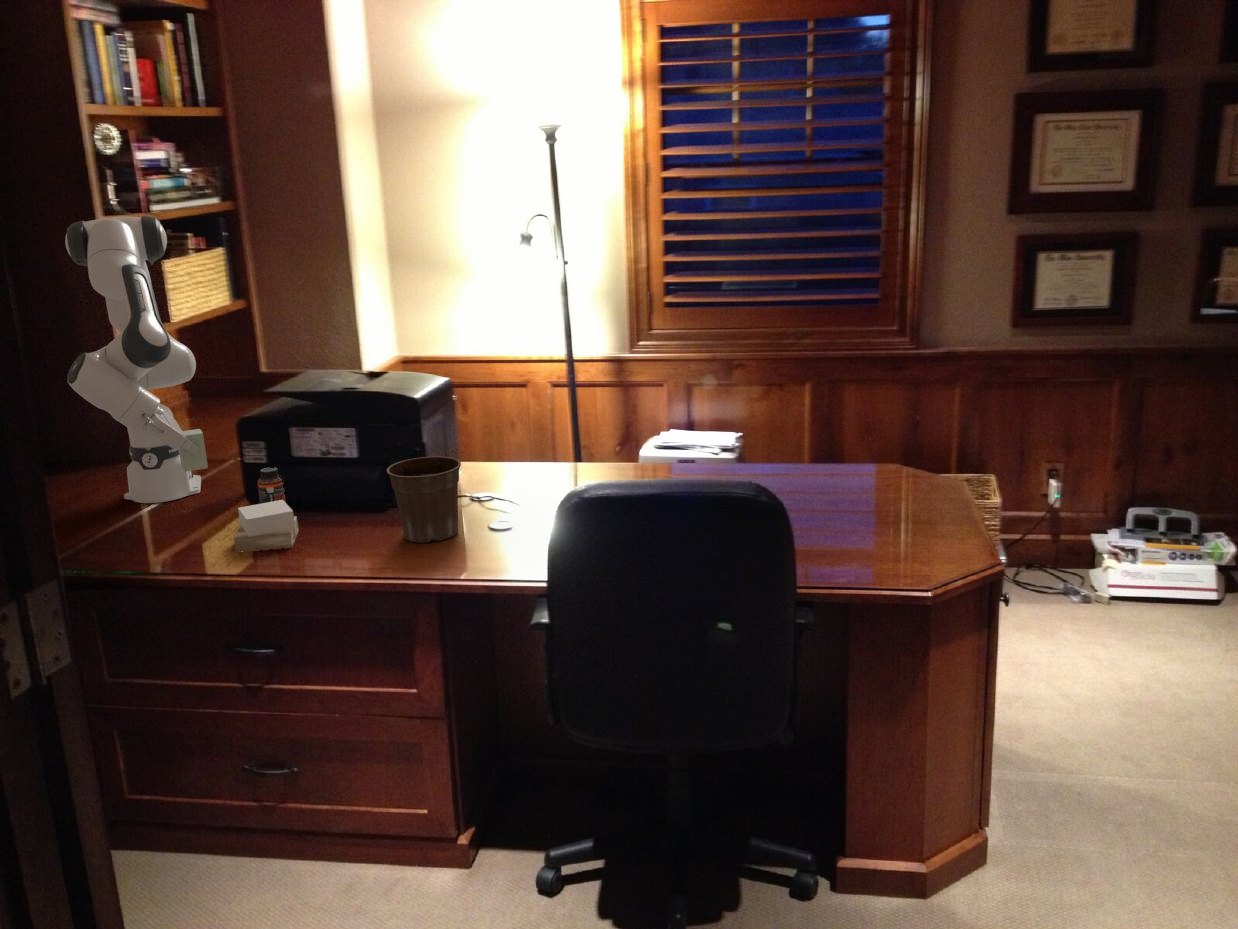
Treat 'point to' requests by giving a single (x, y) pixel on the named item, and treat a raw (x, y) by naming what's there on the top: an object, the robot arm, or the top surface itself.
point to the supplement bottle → (270, 486)
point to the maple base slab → (266, 539)
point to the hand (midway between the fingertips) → (195, 447)
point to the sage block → (190, 459)
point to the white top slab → (266, 518)
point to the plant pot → (427, 497)
